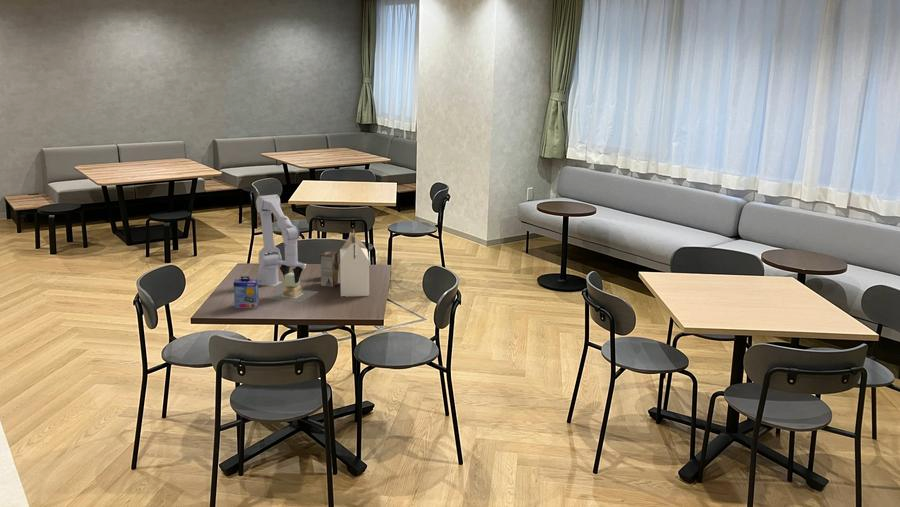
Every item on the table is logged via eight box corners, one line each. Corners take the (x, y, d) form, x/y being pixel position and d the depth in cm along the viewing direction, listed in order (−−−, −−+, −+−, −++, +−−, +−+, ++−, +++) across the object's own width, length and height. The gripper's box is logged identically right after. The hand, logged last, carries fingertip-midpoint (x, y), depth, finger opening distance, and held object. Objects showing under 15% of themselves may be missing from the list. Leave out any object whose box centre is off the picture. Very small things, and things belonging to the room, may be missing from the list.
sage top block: (284, 285, 344) (284, 274, 342) (290, 282, 348) (290, 272, 347) (294, 286, 342) (293, 276, 341) (300, 284, 346) (299, 273, 345)
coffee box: (327, 281, 370) (326, 250, 366) (339, 282, 369) (339, 251, 365) (320, 286, 361) (320, 254, 357) (333, 287, 360) (332, 255, 356)
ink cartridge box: (234, 308, 327) (232, 277, 323) (236, 304, 332) (235, 273, 328) (257, 308, 328) (255, 277, 324) (259, 304, 333) (257, 273, 329)
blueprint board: (265, 299, 340) (265, 297, 340) (285, 288, 357) (285, 287, 357) (300, 304, 335) (300, 302, 335) (318, 292, 352) (318, 291, 352)
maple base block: (283, 295, 344) (283, 287, 343) (289, 292, 350) (289, 284, 349) (295, 297, 342) (294, 289, 341) (301, 293, 348) (301, 285, 347)
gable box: (340, 283, 368) (339, 228, 361) (367, 282, 370) (367, 227, 363) (340, 296, 347) (339, 238, 340) (369, 296, 349) (368, 238, 342)
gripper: (309, 253, 342) (310, 281, 345) (282, 249, 347) (283, 277, 351) (301, 256, 336) (301, 285, 339) (273, 252, 341) (274, 281, 344)
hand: (292, 281), depth 344 cm, fingers closed on sage top block, 5 cm apart
